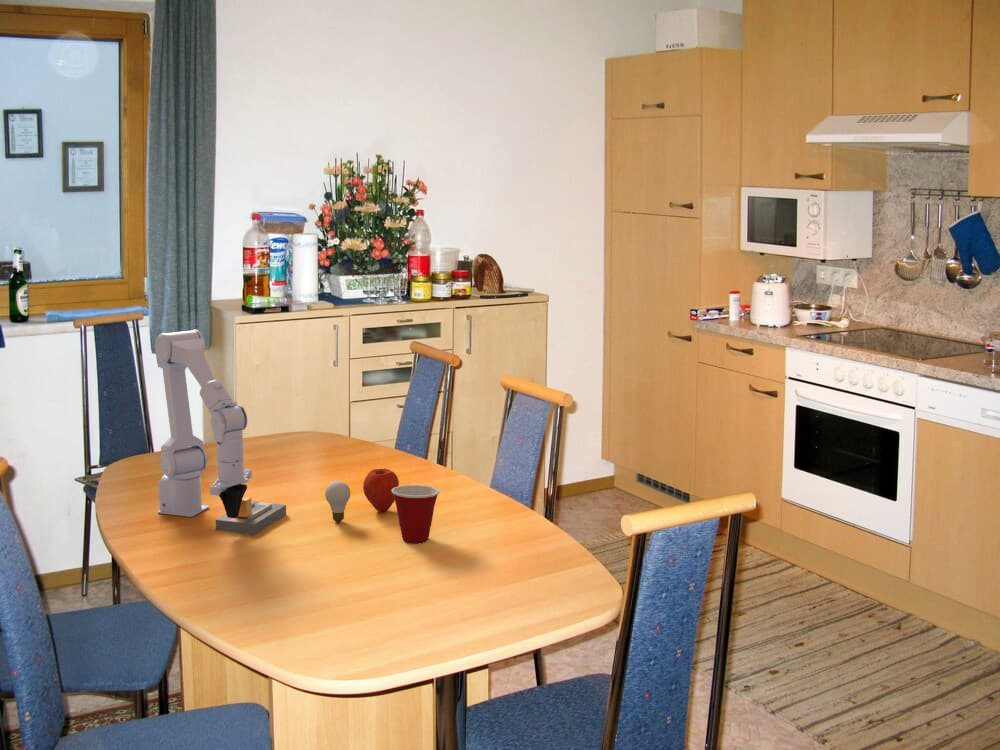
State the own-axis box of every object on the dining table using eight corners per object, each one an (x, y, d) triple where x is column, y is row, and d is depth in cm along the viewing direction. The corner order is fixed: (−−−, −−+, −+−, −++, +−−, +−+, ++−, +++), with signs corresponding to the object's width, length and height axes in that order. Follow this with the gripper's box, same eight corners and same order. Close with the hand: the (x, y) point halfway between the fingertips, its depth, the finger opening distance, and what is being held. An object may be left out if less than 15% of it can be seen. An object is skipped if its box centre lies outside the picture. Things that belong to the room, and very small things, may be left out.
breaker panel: (215, 529, 257) (215, 516, 256) (249, 510, 271) (249, 497, 270) (254, 534, 254) (253, 521, 253) (286, 514, 268) (285, 501, 267)
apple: (357, 514, 269) (356, 471, 266) (374, 504, 276) (373, 462, 274) (389, 519, 265) (388, 475, 263) (405, 508, 273) (405, 466, 271)
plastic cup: (447, 534, 255) (447, 484, 253) (428, 550, 245) (428, 498, 243) (403, 529, 258) (403, 479, 256) (383, 544, 248) (383, 492, 246)
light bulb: (346, 526, 260) (345, 485, 258) (322, 525, 261) (321, 484, 259) (354, 518, 265) (353, 478, 263) (330, 517, 266) (329, 476, 264)
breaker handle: (235, 515, 258) (234, 499, 257) (240, 512, 260) (239, 496, 259) (246, 517, 257) (246, 500, 256) (251, 514, 259) (251, 497, 258)
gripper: (228, 469, 243) (231, 528, 246) (262, 452, 257) (264, 509, 259) (200, 466, 245) (203, 525, 248) (235, 450, 259) (237, 506, 261)
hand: (232, 516), depth 254 cm, fingers closed
